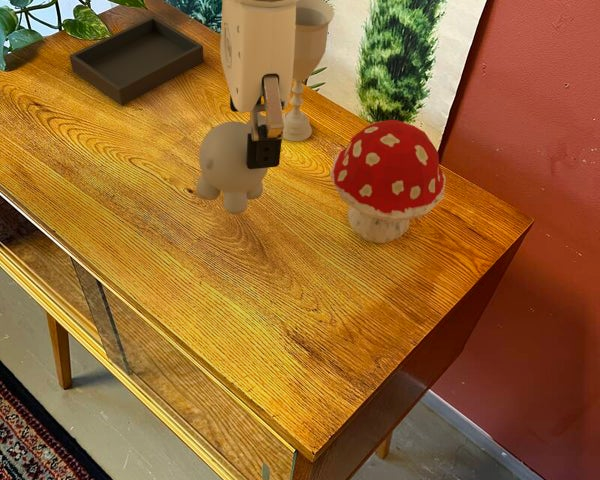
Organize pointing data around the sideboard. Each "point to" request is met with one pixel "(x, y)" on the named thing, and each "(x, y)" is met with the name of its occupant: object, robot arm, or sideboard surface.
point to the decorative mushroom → (388, 179)
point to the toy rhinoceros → (229, 166)
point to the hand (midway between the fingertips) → (253, 136)
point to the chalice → (306, 60)
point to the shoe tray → (137, 59)
